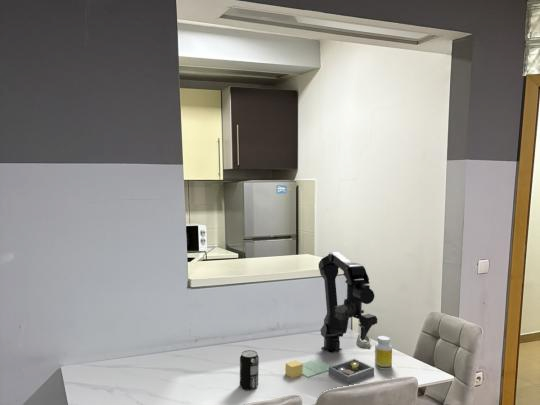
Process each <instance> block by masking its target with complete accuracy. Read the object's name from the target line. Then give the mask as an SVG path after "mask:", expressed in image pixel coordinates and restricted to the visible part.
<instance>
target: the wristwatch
mask: <svg viewBox="0 0 540 405" xmlns="http://www.w3.org/2000/svg"><path fill="white" fill-rule="evenodd" d="M364 341H366V342H364ZM370 344H371V338H370V336H368V334H367V335H366V337H365V339H364V340H363V341H362V340H361V332H359V333H358V335H357V339H356V345H357V346H358V347H360V348H363V349H368V348H369V347H370ZM367 347H368V348H367Z"/></svg>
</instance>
